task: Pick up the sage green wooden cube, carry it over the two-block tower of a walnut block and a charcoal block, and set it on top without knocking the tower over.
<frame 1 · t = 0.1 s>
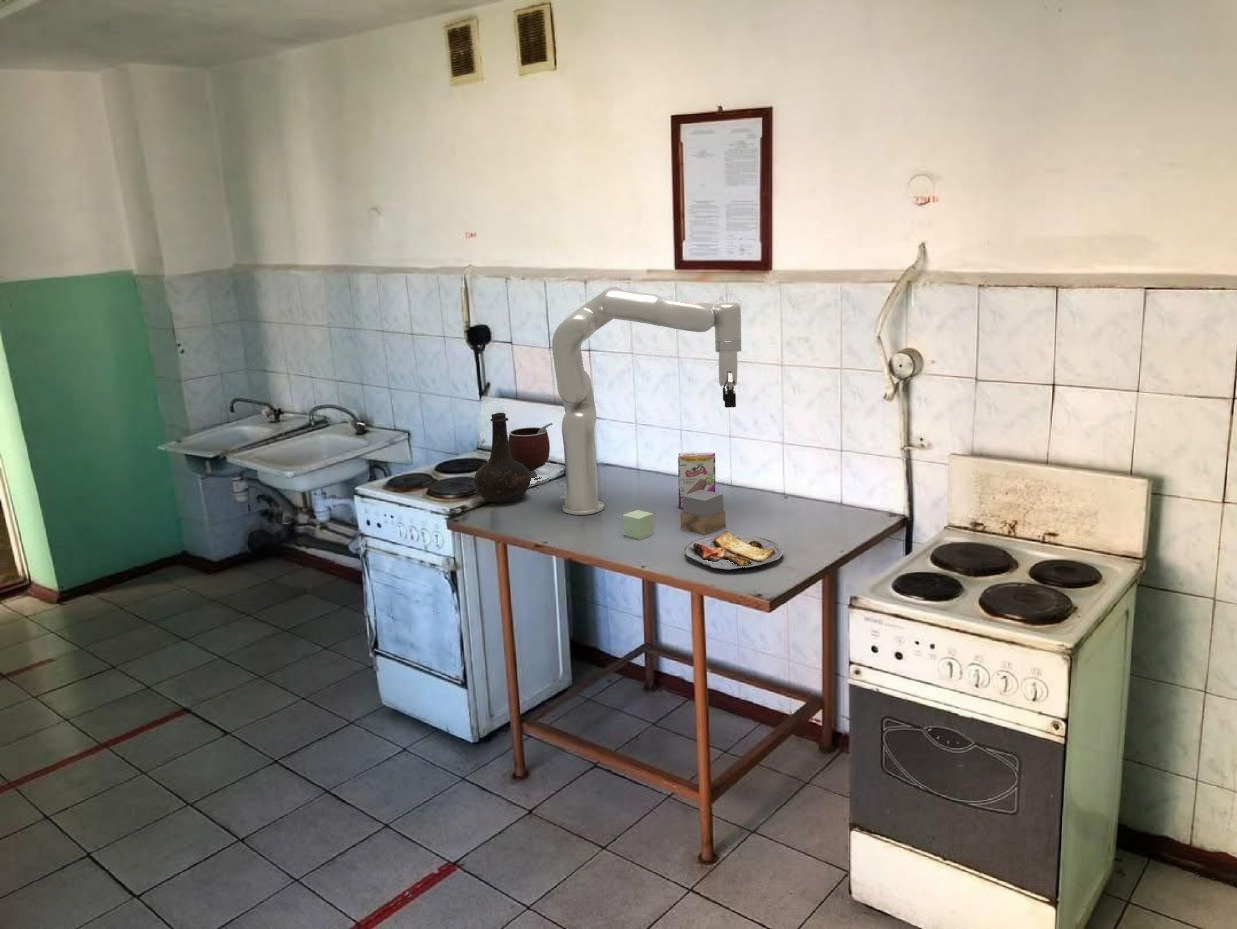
hand: (729, 403, 295), 31 cm above the table, tool pointing down, fingers open, 9 cm apart
mate gourd: (533, 480, 341), on the table
charcoal top block: (703, 512, 282), point 5 cm above the table, touching walnut base block
green cube: (638, 534, 280), on the table
walnut base block: (703, 528, 283), on the table, touching charcoal top block
food plate: (733, 558, 259), on the table
candy bar box: (697, 507, 303), on the table
glass bottle: (504, 499, 320), on the table
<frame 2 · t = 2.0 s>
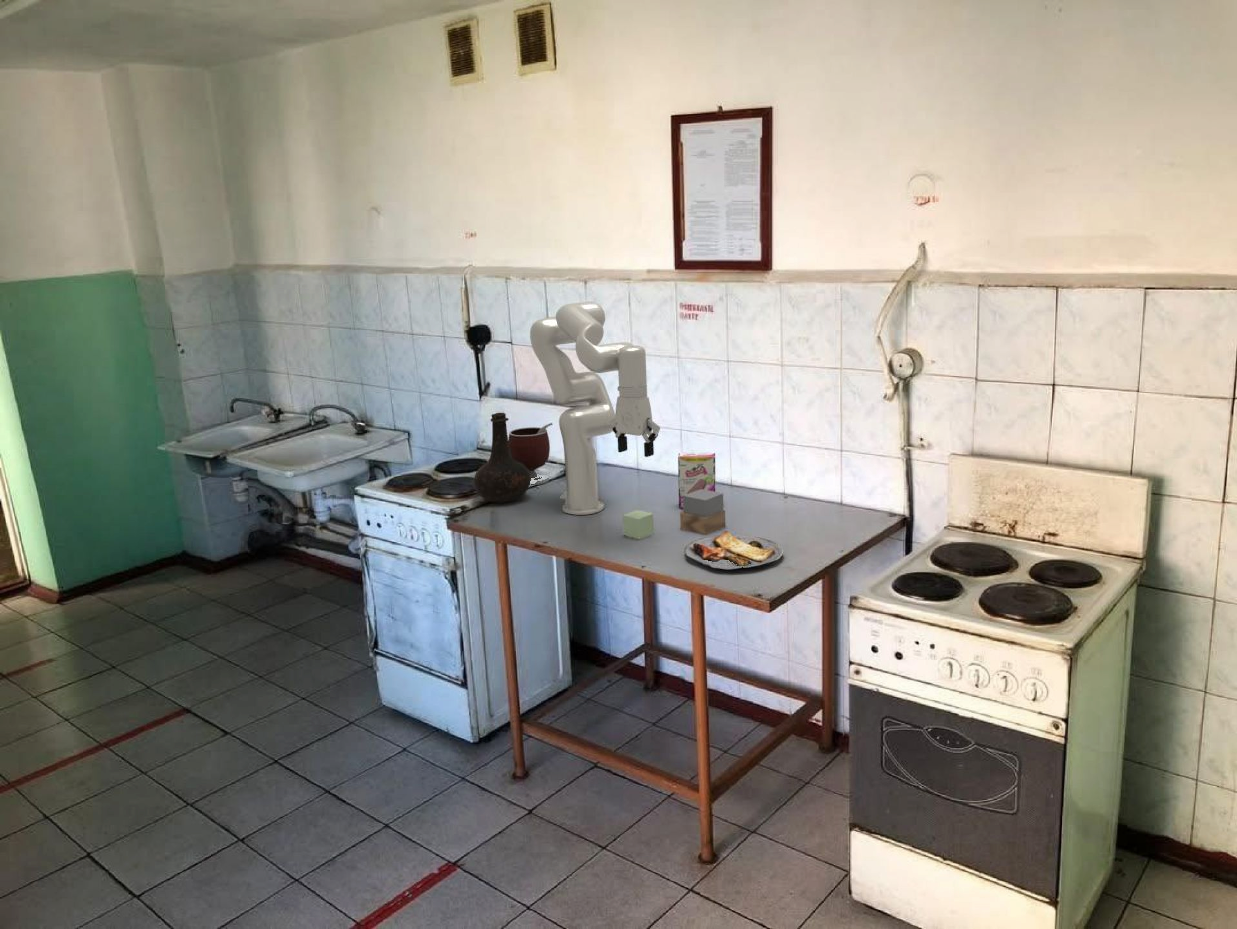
hand: (635, 453, 274), 23 cm above the table, tool pointing down, fingers open, 9 cm apart
nothing on the table moved.
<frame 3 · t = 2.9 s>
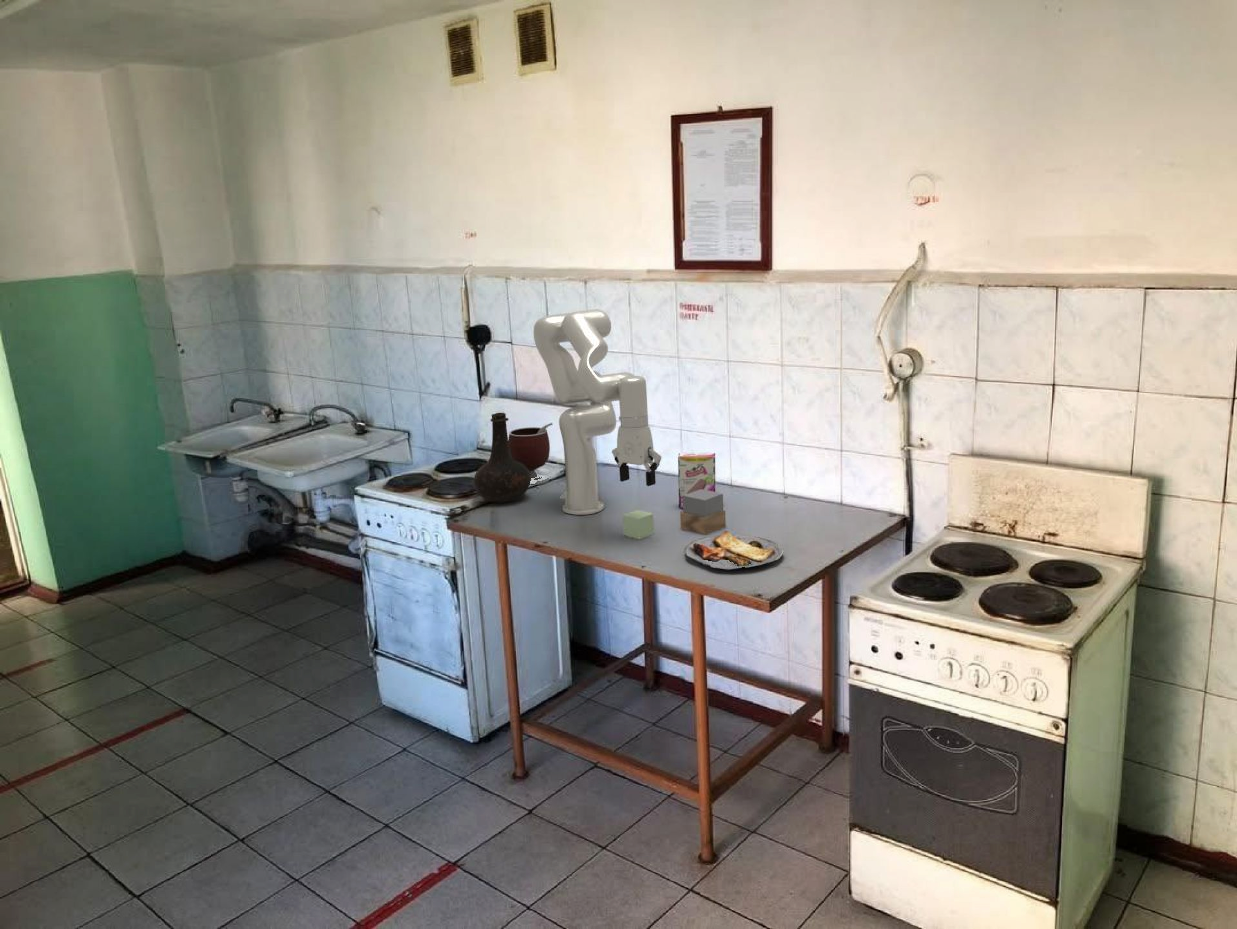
hand: (637, 482, 275), 15 cm above the table, tool pointing down, fingers open, 9 cm apart
nothing on the table moved.
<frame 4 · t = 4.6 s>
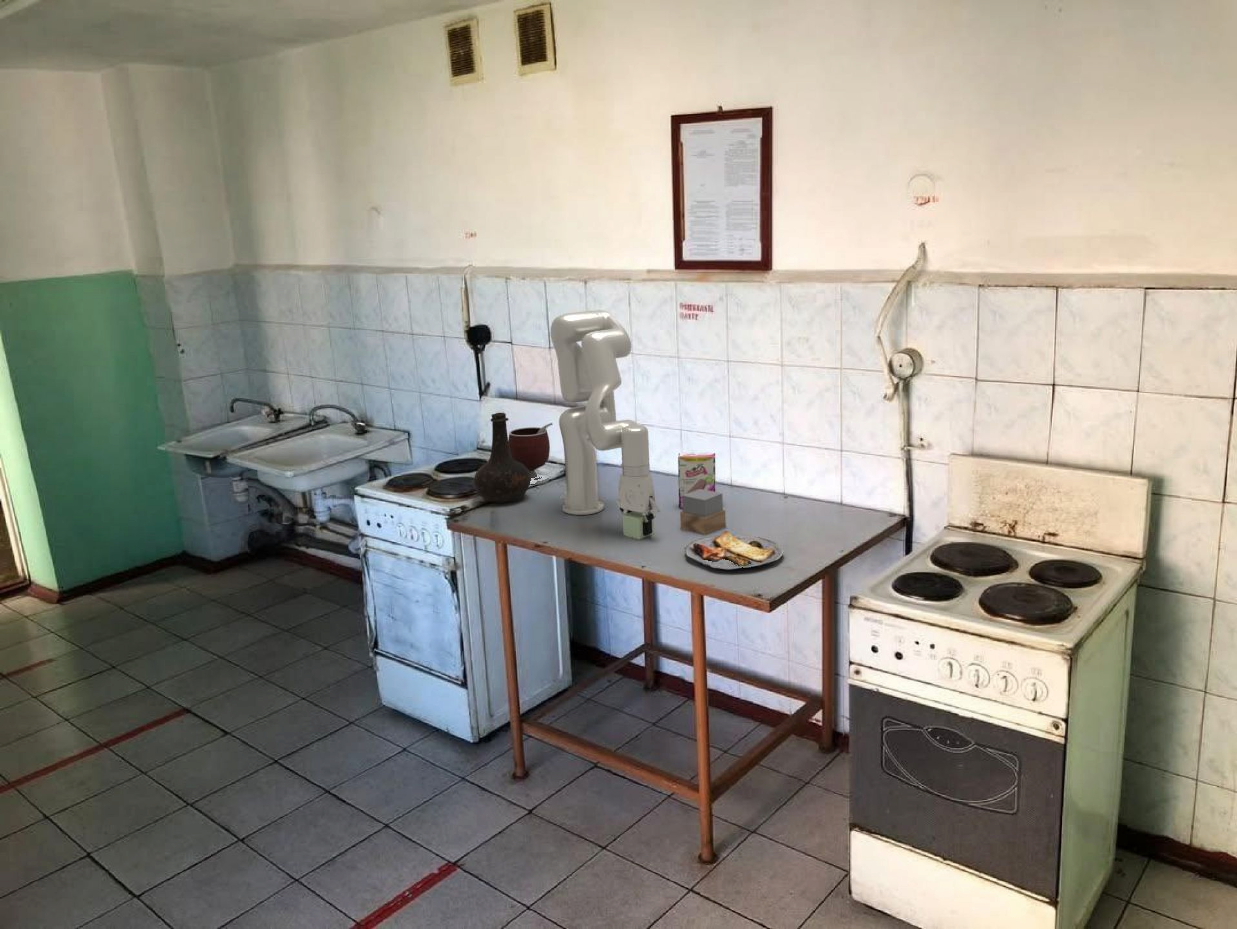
hand: (638, 531, 280), 1 cm above the table, tool pointing down, fingers closed on green cube, 6 cm apart
green cube: (638, 534, 280), on the table, touching gripper
everything else where it was.
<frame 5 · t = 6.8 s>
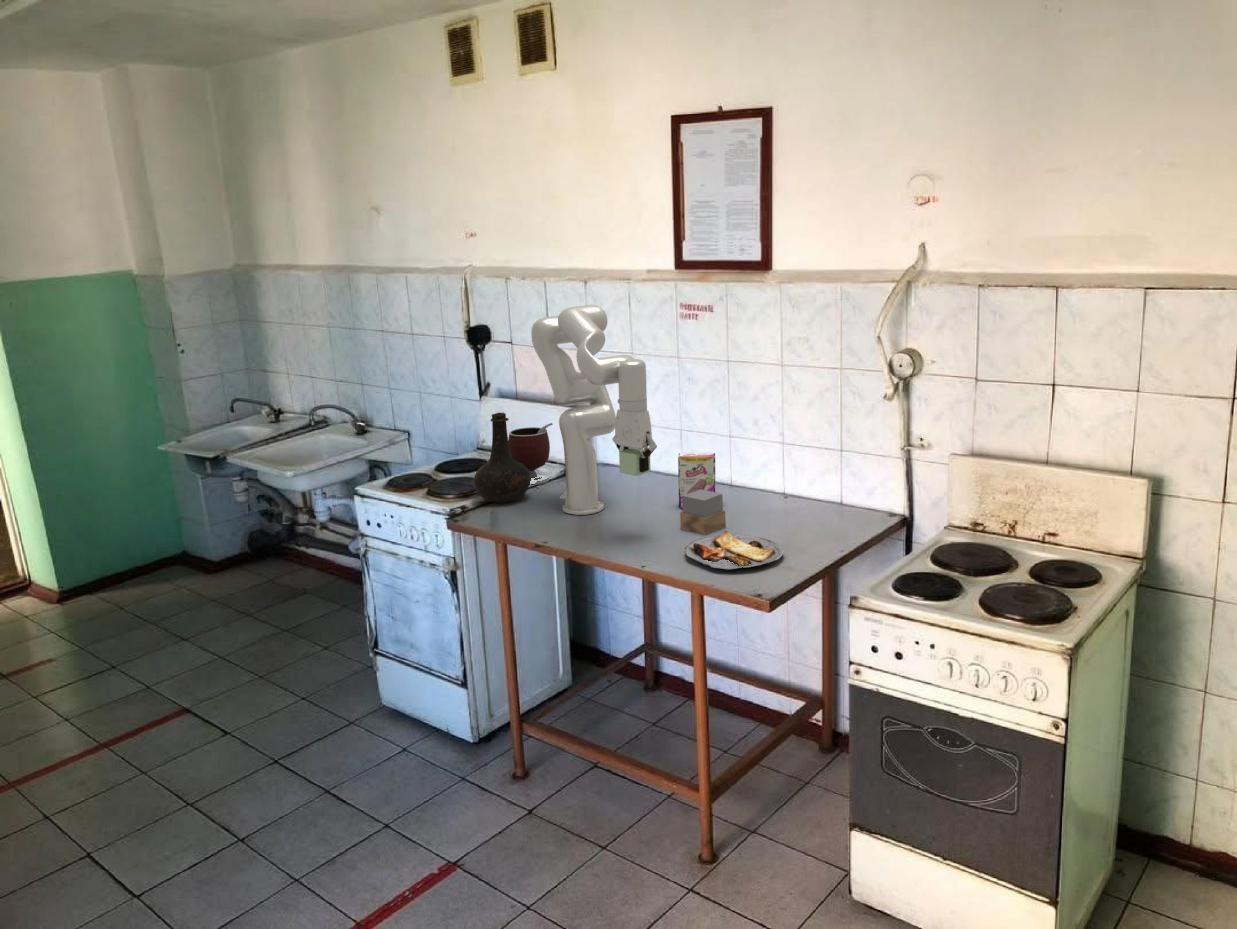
hand: (635, 468, 275), 19 cm above the table, tool pointing down, fingers closed on green cube, 6 cm apart
green cube: (635, 471, 276), point 18 cm above the table, touching gripper
everything else where it was.
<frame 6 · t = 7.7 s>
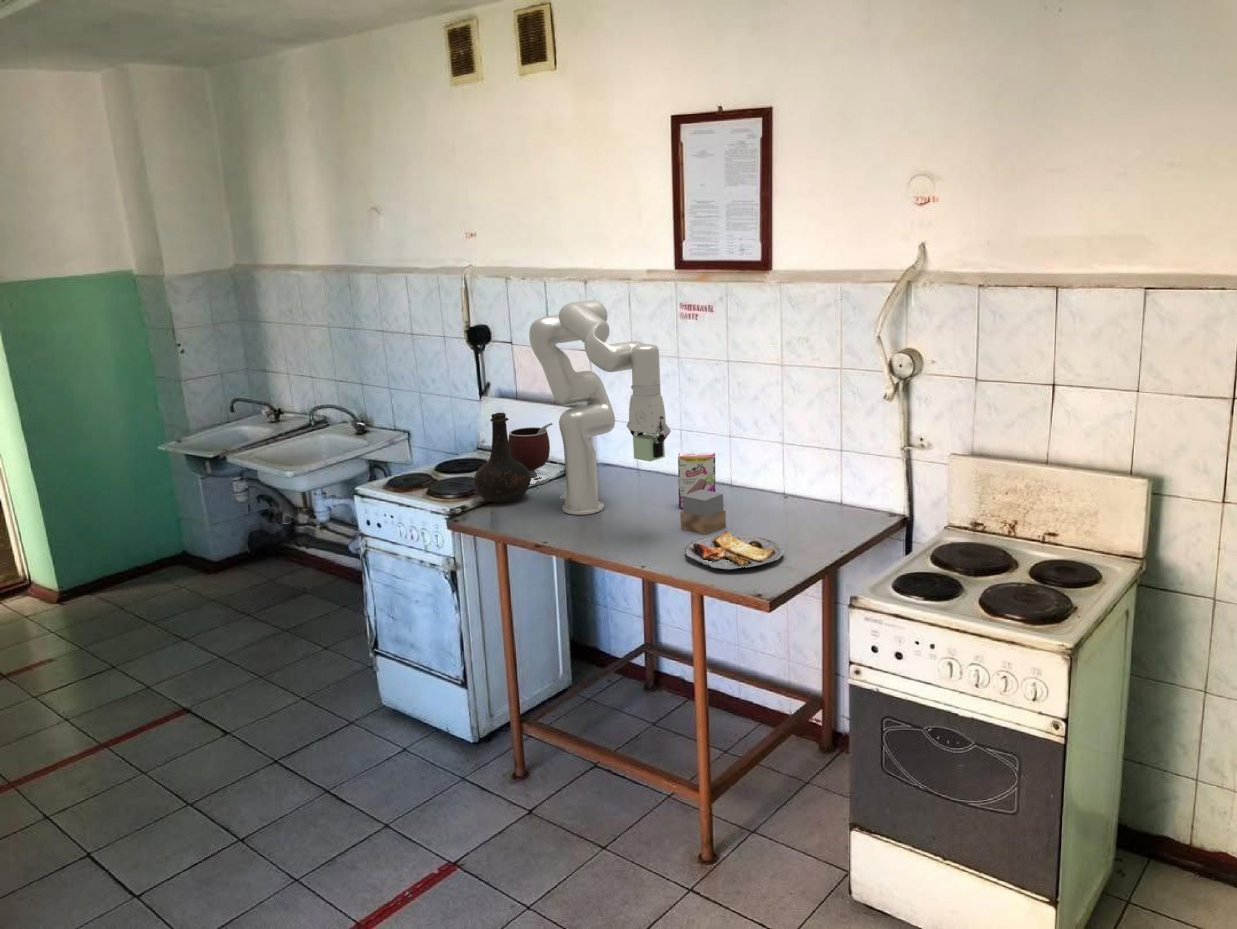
hand: (649, 454, 275), 23 cm above the table, tool pointing down, fingers closed on green cube, 6 cm apart
green cube: (649, 457, 275), point 22 cm above the table, touching gripper
everything else where it was.
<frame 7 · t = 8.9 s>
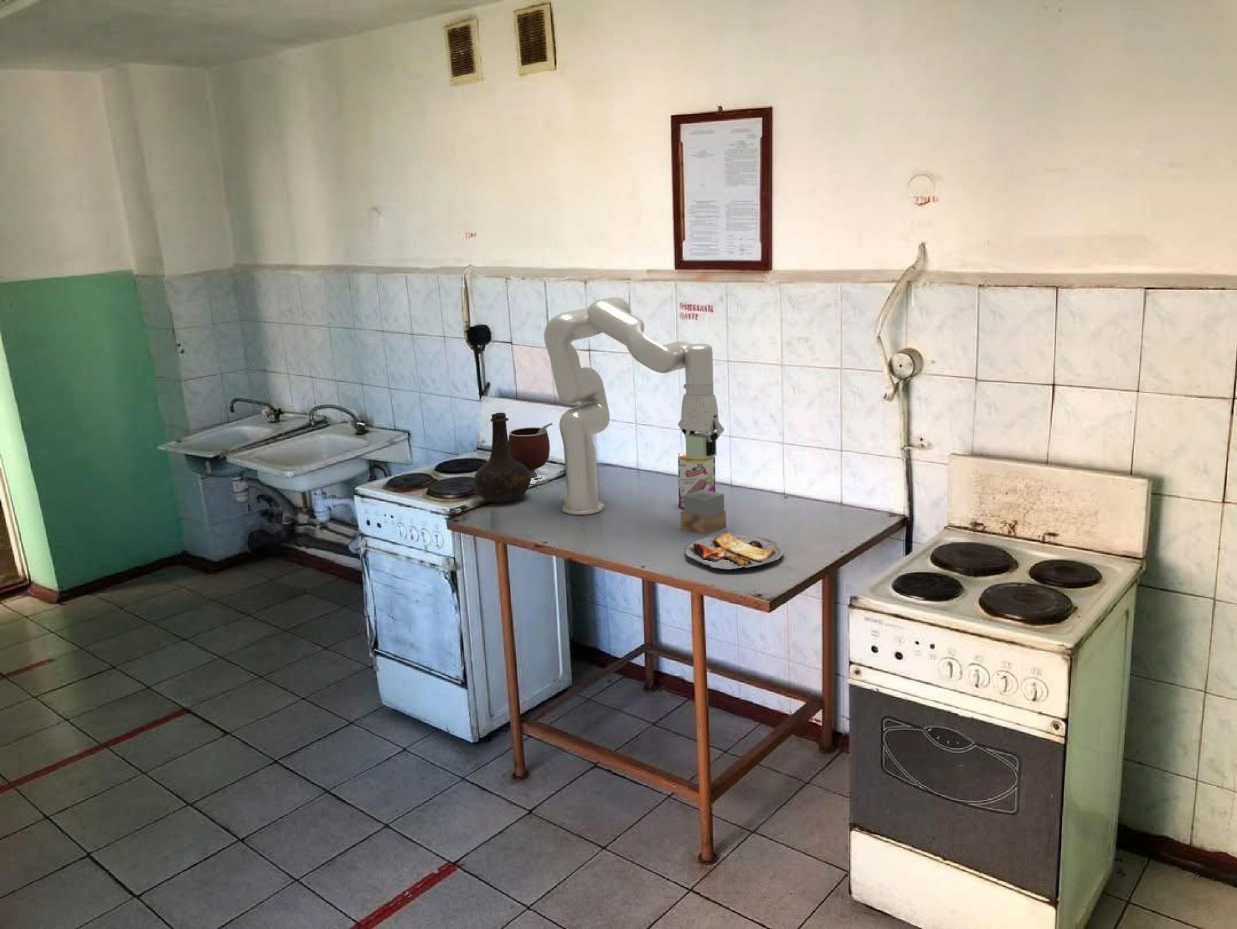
hand: (701, 453, 277), 22 cm above the table, tool pointing down, fingers closed on green cube, 6 cm apart
green cube: (701, 456, 278), point 21 cm above the table, touching gripper
everything else where it was.
when the fingers open (12 cm above the table, at t = 11.3 s): green cube drops 2 cm, resting on charcoal top block.
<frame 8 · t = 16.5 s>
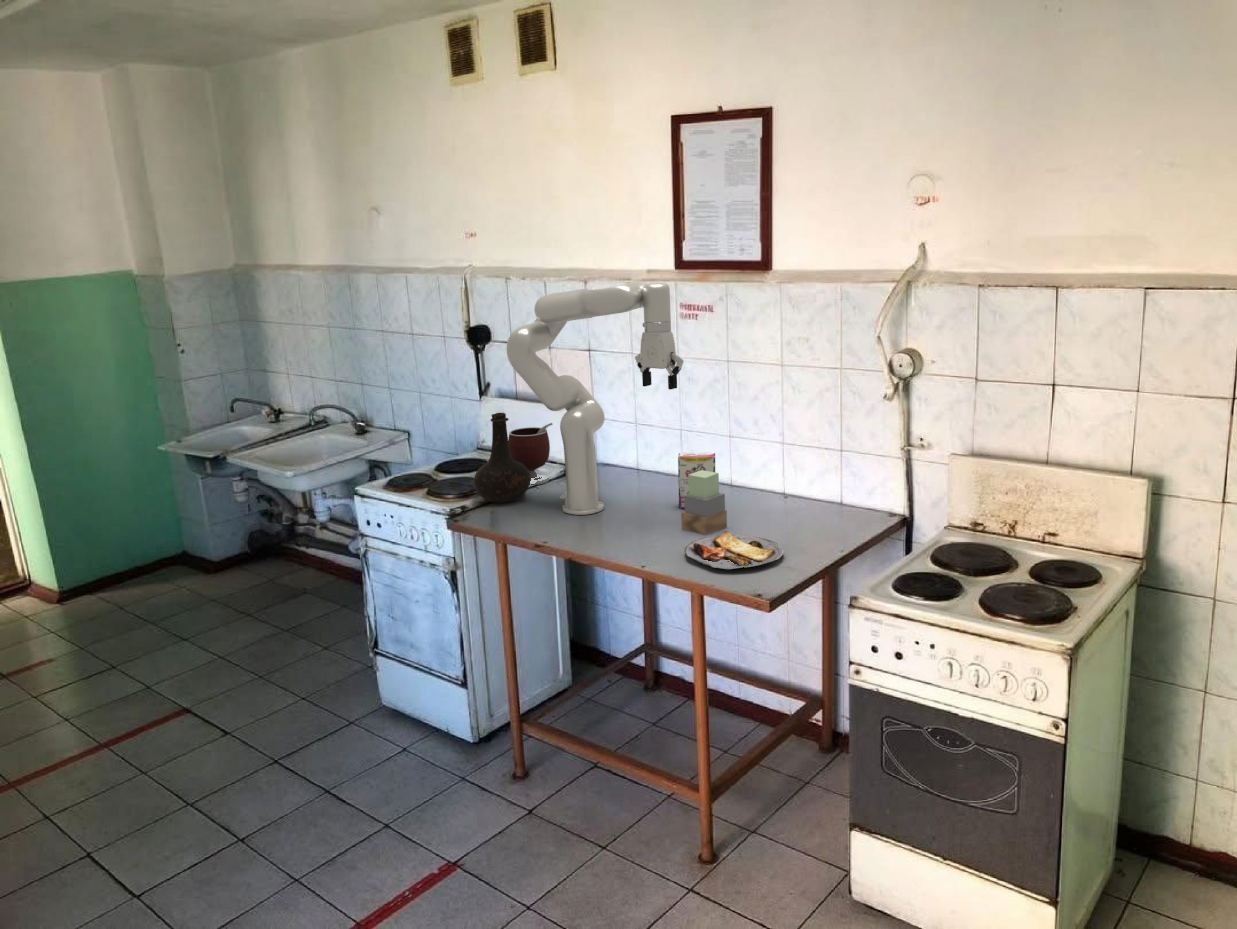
hand: (659, 387, 287), 38 cm above the table, tool pointing down, fingers open, 9 cm apart
charcoal top block: (704, 511, 282), point 5 cm above the table, touching green cube, walnut base block
green cube: (703, 494, 280), point 10 cm above the table, touching charcoal top block
everything else where it was.
at the end: green cube 0.2 cm off-centre on the charcoal top block, point 5.0 cm above the charcoal top block's base; green cube tilted 0°; charcoal top block point 4.8 cm above the table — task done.
